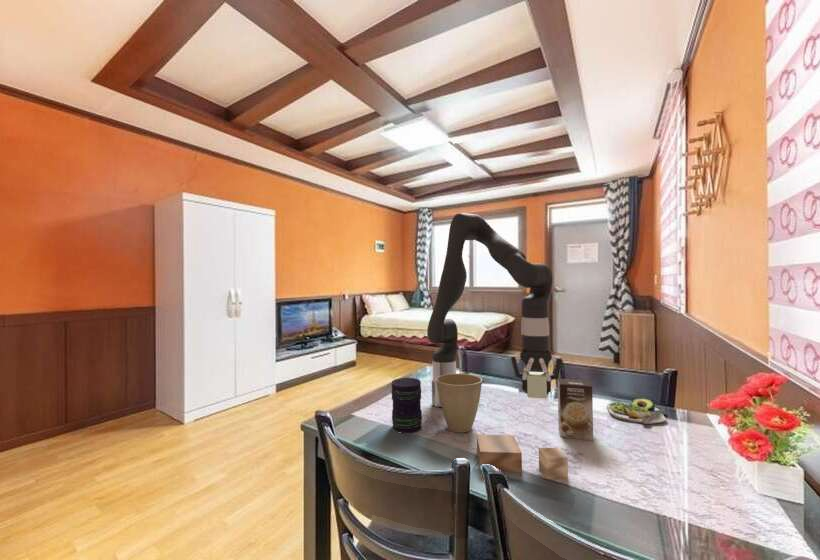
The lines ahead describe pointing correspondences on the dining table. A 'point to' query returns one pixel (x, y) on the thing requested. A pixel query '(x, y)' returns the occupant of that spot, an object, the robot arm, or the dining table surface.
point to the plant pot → (459, 399)
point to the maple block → (553, 463)
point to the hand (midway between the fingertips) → (536, 392)
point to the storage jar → (406, 405)
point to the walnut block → (499, 452)
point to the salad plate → (637, 411)
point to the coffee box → (575, 409)
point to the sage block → (536, 385)
